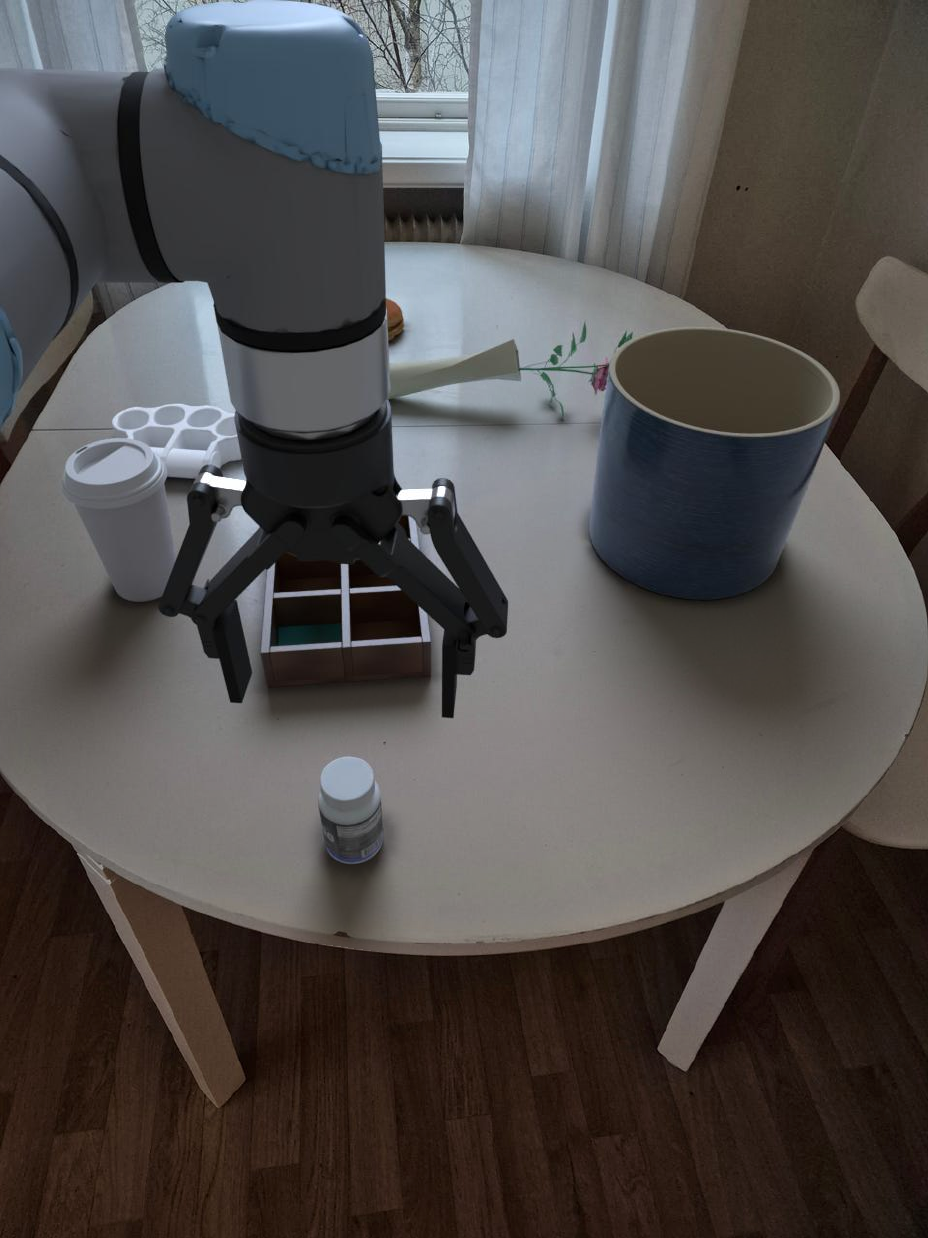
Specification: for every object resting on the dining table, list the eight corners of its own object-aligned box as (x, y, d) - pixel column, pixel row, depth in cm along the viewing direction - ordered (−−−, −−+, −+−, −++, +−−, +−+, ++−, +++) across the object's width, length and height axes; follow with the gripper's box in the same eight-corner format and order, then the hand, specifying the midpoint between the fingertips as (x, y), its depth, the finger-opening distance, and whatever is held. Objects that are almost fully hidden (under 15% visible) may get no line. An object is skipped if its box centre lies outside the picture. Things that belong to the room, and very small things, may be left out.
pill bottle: (321, 820, 70) (311, 757, 64) (378, 810, 71) (373, 746, 65) (328, 871, 67) (317, 809, 61) (388, 860, 68) (383, 798, 62)
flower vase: (401, 433, 127) (642, 397, 121) (385, 455, 116) (648, 416, 110) (384, 351, 122) (634, 309, 116) (365, 366, 111) (640, 320, 105)
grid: (267, 687, 80) (260, 653, 77) (277, 537, 97) (271, 503, 94) (431, 675, 82) (431, 641, 79) (413, 529, 98) (413, 496, 95)
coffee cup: (168, 541, 96) (136, 422, 85) (209, 586, 90) (180, 465, 80) (84, 576, 91) (39, 455, 81) (122, 625, 86) (79, 502, 76)
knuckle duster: (92, 479, 104) (136, 417, 115) (238, 489, 103) (269, 425, 114) (84, 455, 102) (129, 394, 112) (234, 465, 101) (265, 402, 111)
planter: (545, 524, 99) (562, 362, 86) (677, 463, 109) (712, 309, 95) (688, 633, 87) (736, 464, 73) (823, 553, 97) (887, 390, 83)
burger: (405, 319, 138) (404, 290, 135) (402, 346, 131) (401, 316, 128) (343, 318, 138) (341, 289, 134) (337, 345, 131) (334, 315, 128)
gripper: (571, 377, 43) (537, 665, 58) (87, 350, 44) (174, 641, 59) (574, 459, 38) (536, 754, 53) (22, 426, 39) (136, 726, 54)
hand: (345, 695), depth 56 cm, fingers open, 13 cm apart
